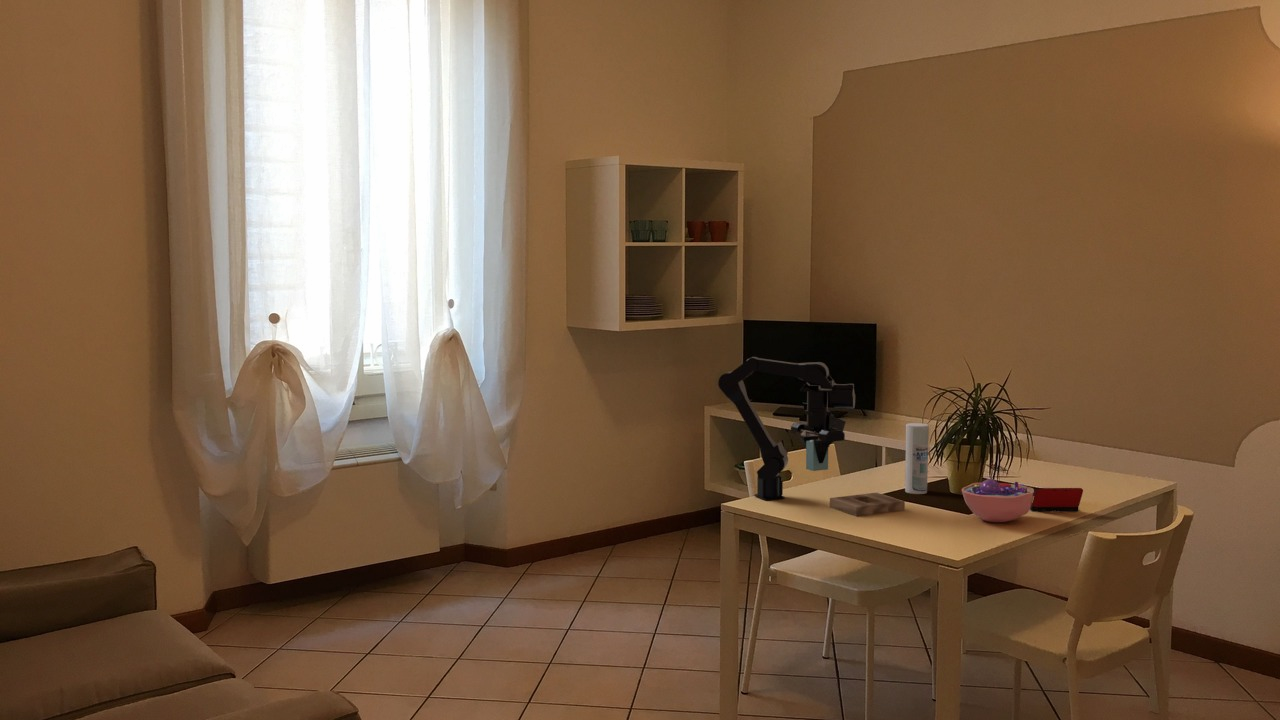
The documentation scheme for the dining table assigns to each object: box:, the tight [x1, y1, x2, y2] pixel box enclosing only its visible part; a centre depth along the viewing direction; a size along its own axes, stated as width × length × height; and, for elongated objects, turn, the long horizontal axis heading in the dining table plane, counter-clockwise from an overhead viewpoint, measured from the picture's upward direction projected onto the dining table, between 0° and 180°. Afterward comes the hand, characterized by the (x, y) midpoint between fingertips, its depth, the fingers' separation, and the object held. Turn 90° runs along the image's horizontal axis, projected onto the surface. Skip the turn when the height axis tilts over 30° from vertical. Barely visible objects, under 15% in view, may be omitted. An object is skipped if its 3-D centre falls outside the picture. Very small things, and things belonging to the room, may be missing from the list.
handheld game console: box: [1029, 487, 1084, 513], centre depth 275 cm, size 12×11×7 cm
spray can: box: [904, 422, 930, 495], centre depth 297 cm, size 6×6×20 cm
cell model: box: [961, 478, 1035, 523], centre depth 264 cm, size 17×20×11 cm
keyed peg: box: [805, 440, 829, 472], centre depth 286 cm, size 5×4×8 cm
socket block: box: [829, 492, 906, 517], centre depth 277 cm, size 16×12×2 cm
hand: (817, 461), depth 286 cm, fingers closed on keyed peg, 4 cm apart
